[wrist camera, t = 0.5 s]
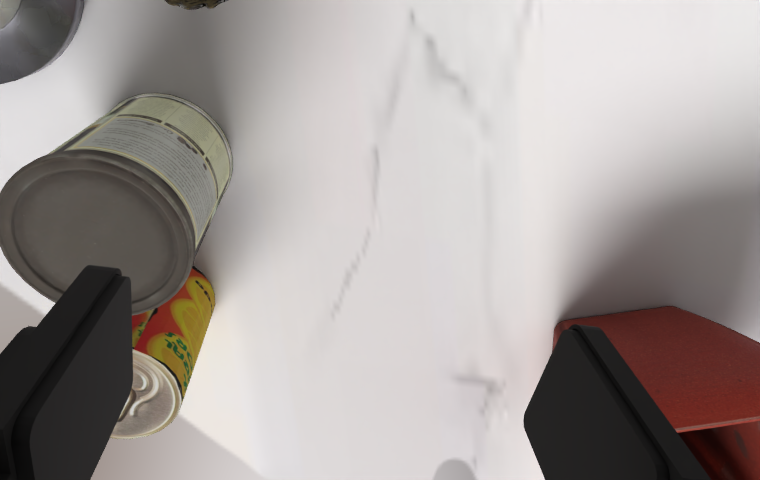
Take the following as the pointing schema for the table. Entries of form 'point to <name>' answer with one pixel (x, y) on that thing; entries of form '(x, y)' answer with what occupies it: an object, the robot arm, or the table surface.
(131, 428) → the yellow tin can
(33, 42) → the gray dinner plate
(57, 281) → the coffee can
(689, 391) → the plant pot
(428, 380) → the table surface
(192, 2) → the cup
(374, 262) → the table surface
